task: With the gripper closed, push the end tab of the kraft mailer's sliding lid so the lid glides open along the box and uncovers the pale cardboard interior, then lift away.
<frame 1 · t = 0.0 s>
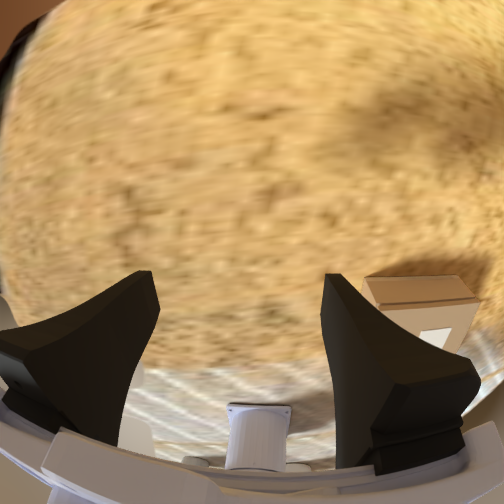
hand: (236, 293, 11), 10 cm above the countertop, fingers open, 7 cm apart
house plant: (190, 460, 44), on the countertop
lid: (417, 370, 19), point 6 cm above the countertop, slide at 0.0 cm
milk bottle: (291, 467, 43), on the countertop
mailer: (399, 328, 24), on the countertop
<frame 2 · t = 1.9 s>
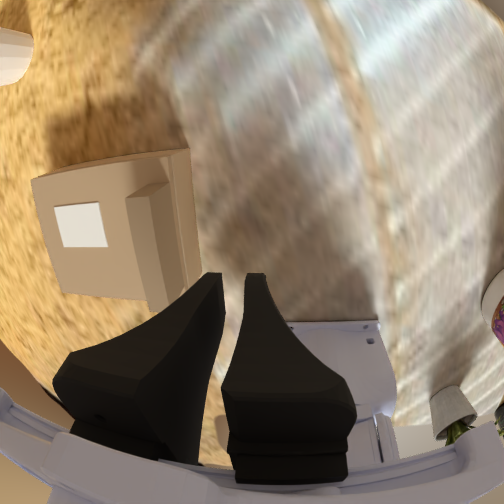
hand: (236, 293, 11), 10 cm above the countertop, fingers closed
house plant: (442, 399, 31), on the countertop
lid: (89, 246, 17), point 6 cm above the countertop, slide at 0.0 cm
white cup: (18, 58, 15), on the countertop
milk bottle: (502, 291, 22), on the countertop
mailer: (126, 216, 22), on the countertop
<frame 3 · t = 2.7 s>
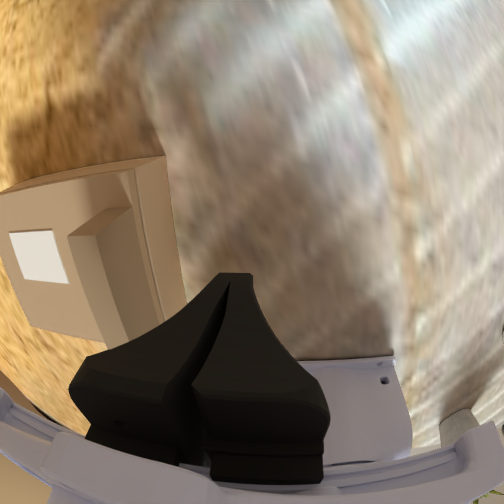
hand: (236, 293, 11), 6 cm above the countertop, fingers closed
house plant: (452, 421, 27), on the countertop
lid: (46, 284, 12), point 6 cm above the countertop, slide at 0.0 cm
mailer: (96, 239, 17), on the countertop
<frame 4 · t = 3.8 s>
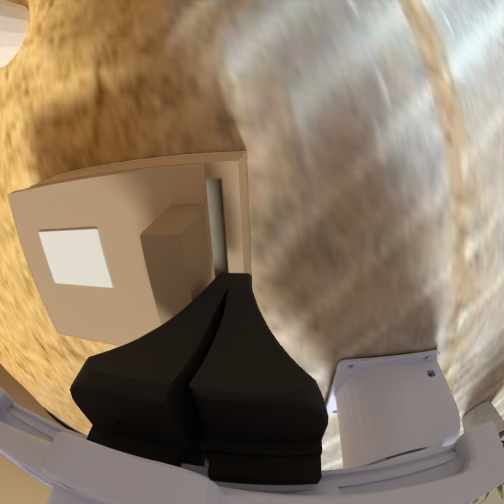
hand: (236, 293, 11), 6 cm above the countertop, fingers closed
house plant: (474, 414, 26), on the countertop
lid: (88, 288, 12), point 6 cm above the countertop, slide at 1.3 cm, touching gripper
white cup: (10, 36, 10), on the countertop
mailer: (153, 239, 17), on the countertop
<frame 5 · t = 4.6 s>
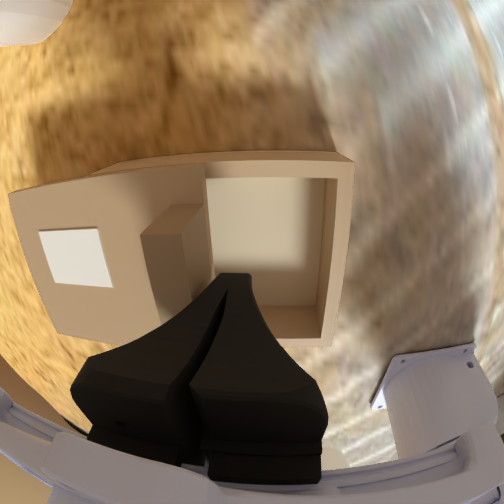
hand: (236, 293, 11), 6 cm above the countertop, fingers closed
house plant: (493, 407, 26), on the countertop
lid: (88, 288, 12), point 6 cm above the countertop, slide at 6.0 cm, touching gripper
white cup: (47, 11, 10), on the countertop
mailer: (227, 238, 17), on the countertop
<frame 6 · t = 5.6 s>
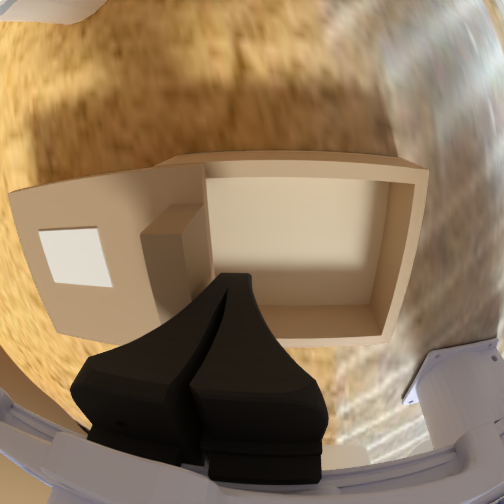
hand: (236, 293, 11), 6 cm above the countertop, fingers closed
lid: (88, 288, 12), point 6 cm above the countertop, slide at 9.6 cm, touching gripper
mailer: (290, 238, 16), on the countertop
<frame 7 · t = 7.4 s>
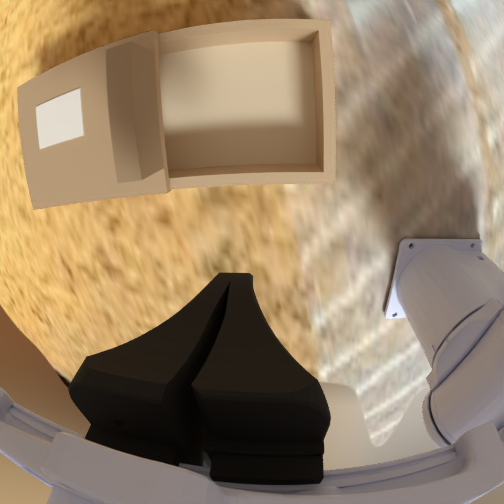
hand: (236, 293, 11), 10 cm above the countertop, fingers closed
lid: (64, 130, 13), point 6 cm above the countertop, slide at 9.7 cm
mailer: (234, 103, 17), on the countertop
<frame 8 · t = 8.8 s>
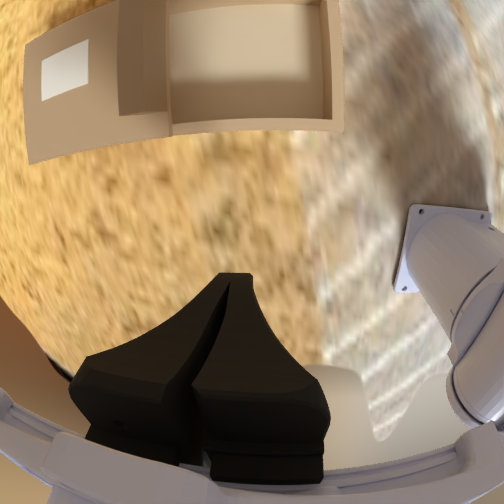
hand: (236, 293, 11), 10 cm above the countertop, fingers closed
lid: (69, 76, 12), point 6 cm above the countertop, slide at 9.7 cm
mailer: (241, 60, 16), on the countertop
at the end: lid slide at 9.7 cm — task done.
